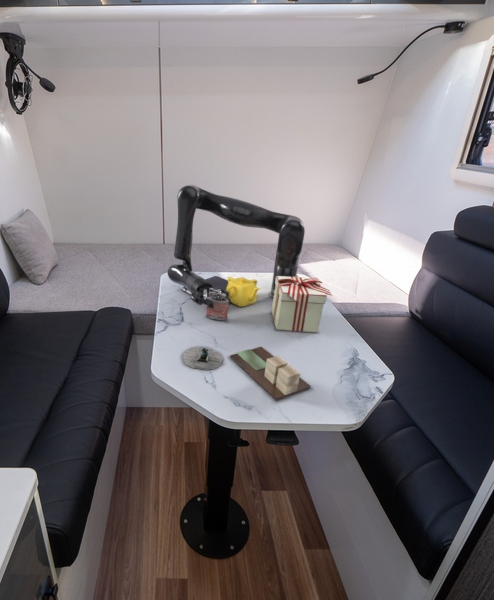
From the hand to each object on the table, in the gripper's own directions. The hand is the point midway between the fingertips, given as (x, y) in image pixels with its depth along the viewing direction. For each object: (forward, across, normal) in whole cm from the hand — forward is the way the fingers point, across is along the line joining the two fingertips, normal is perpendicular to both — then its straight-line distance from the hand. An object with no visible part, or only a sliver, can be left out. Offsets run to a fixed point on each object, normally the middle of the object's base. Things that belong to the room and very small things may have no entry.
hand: (221, 304), depth 133 cm
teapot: (-10, +17, +8) cm, 21 cm away
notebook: (-27, +12, +8) cm, 31 cm away
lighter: (-2, 0, +7) cm, 7 cm away
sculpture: (+18, -17, +7) cm, 26 cm away
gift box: (+13, +25, +8) cm, 29 cm away
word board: (+32, -3, +7) cm, 33 cm away
